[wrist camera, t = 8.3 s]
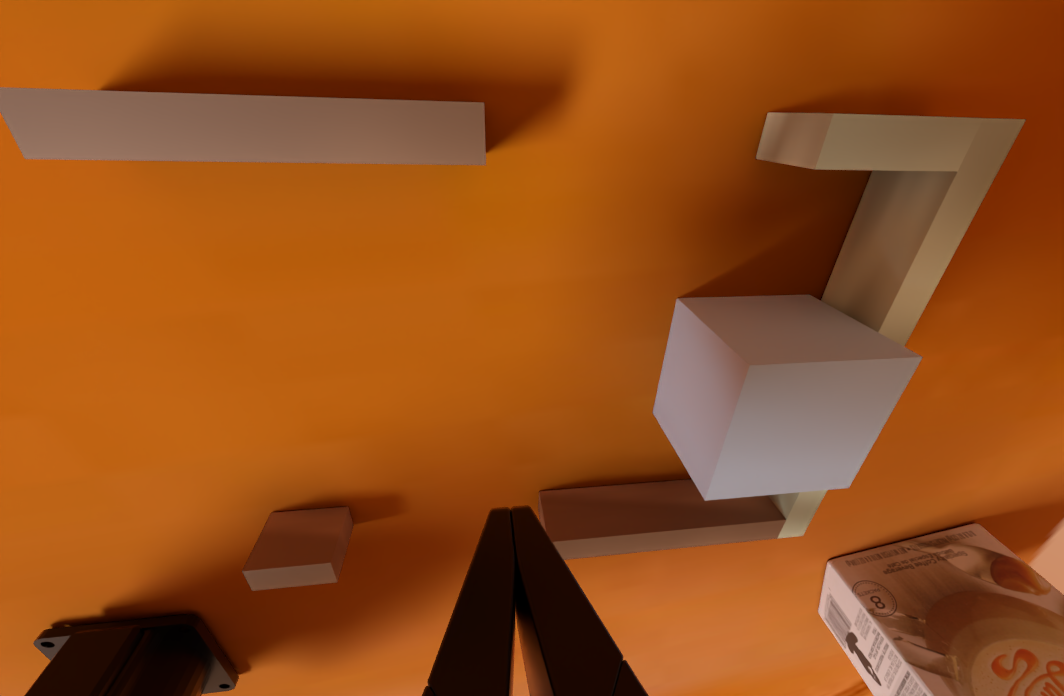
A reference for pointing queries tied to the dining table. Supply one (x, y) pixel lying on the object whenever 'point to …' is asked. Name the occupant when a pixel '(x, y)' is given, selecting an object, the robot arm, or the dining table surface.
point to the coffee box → (946, 618)
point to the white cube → (775, 393)
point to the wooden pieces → (459, 139)
